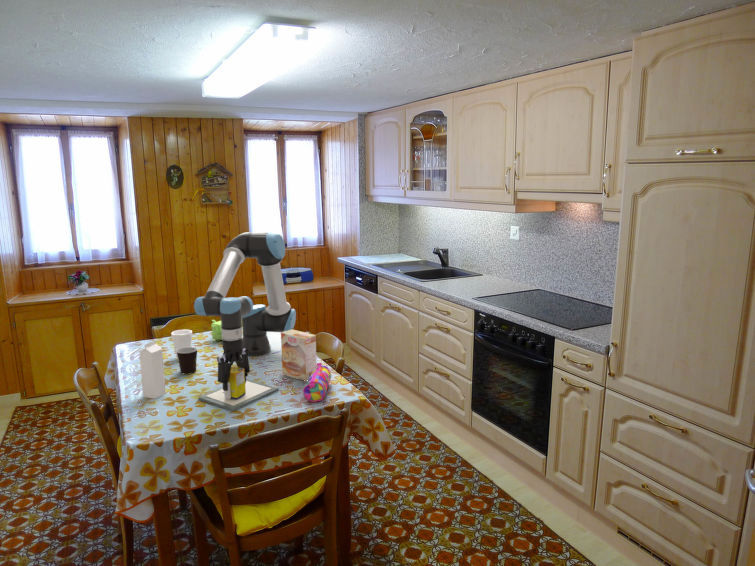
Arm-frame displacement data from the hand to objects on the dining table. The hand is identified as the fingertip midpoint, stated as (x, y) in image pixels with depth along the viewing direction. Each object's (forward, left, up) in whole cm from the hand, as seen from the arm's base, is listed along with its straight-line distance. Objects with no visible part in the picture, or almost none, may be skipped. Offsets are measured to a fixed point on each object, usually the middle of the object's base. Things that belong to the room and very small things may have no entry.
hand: (235, 394), depth 206 cm
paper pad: (-4, -2, -2) cm, 5 cm away
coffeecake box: (-33, +4, -2) cm, 33 cm away
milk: (+15, -30, -2) cm, 34 cm away
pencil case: (-23, +22, -2) cm, 32 cm away
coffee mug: (-11, -42, -2) cm, 44 cm away
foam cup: (-20, -59, -2) cm, 63 cm away
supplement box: (0, 0, -1) cm, 1 cm away
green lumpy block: (-52, -67, -2) cm, 85 cm away
